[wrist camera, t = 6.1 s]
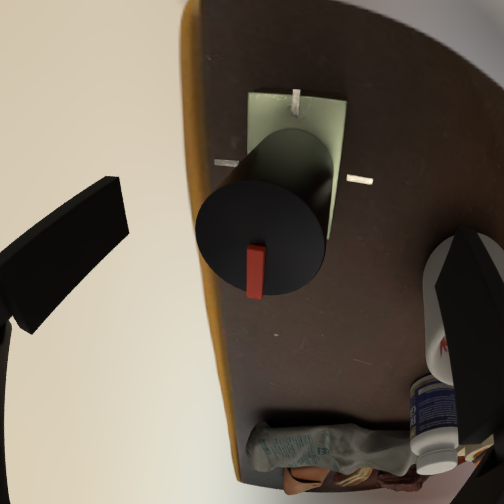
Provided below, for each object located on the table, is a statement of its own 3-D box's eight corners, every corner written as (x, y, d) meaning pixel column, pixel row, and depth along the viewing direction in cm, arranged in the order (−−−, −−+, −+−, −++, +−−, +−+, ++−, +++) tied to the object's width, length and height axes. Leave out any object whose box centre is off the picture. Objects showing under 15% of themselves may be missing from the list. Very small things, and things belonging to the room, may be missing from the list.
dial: (252, 125, 16) (186, 177, 9) (338, 134, 15) (334, 195, 9) (251, 201, 18) (196, 288, 12) (328, 212, 17) (314, 311, 11)
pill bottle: (403, 380, 28) (402, 468, 20) (452, 364, 25) (462, 453, 17) (416, 403, 30) (415, 480, 22) (459, 389, 27) (466, 468, 19)
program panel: (377, 95, 16) (384, 101, 13) (357, 224, 20) (358, 250, 18) (232, 81, 17) (212, 86, 15) (232, 206, 22) (217, 228, 20)
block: (518, 411, 27) (522, 435, 24) (482, 442, 33) (483, 463, 30) (485, 413, 28) (489, 438, 25) (450, 444, 34) (451, 466, 31)
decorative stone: (354, 458, 41) (352, 467, 40) (384, 461, 40) (383, 470, 39) (328, 478, 50) (327, 486, 48) (354, 481, 49) (353, 489, 47)
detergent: (261, 442, 44) (419, 453, 35) (247, 479, 38) (417, 493, 30) (248, 395, 38) (446, 406, 30) (230, 441, 32) (449, 456, 24)
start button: (502, 444, 26) (503, 455, 25) (488, 454, 28) (489, 465, 27) (483, 446, 27) (484, 457, 26) (470, 456, 29) (470, 467, 28)
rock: (385, 446, 42) (374, 465, 45) (374, 476, 37) (364, 492, 41) (442, 456, 37) (426, 475, 40) (435, 488, 32) (418, 503, 36)
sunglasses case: (324, 485, 51) (303, 507, 48) (299, 468, 56) (277, 488, 52) (337, 460, 42) (309, 489, 38) (304, 438, 46) (276, 464, 42)
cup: (519, 298, 19) (549, 372, 13) (443, 337, 24) (455, 415, 17) (487, 195, 16) (540, 266, 10) (393, 250, 21) (405, 337, 14)
